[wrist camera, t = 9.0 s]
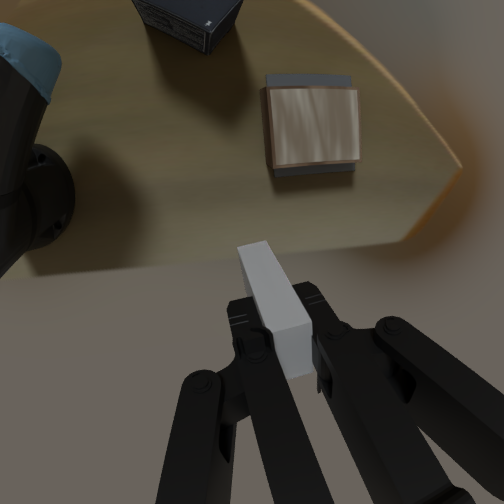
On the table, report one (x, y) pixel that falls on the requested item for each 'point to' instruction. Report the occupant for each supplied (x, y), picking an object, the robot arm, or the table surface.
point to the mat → (310, 81)
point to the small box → (191, 19)
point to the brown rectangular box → (311, 125)
